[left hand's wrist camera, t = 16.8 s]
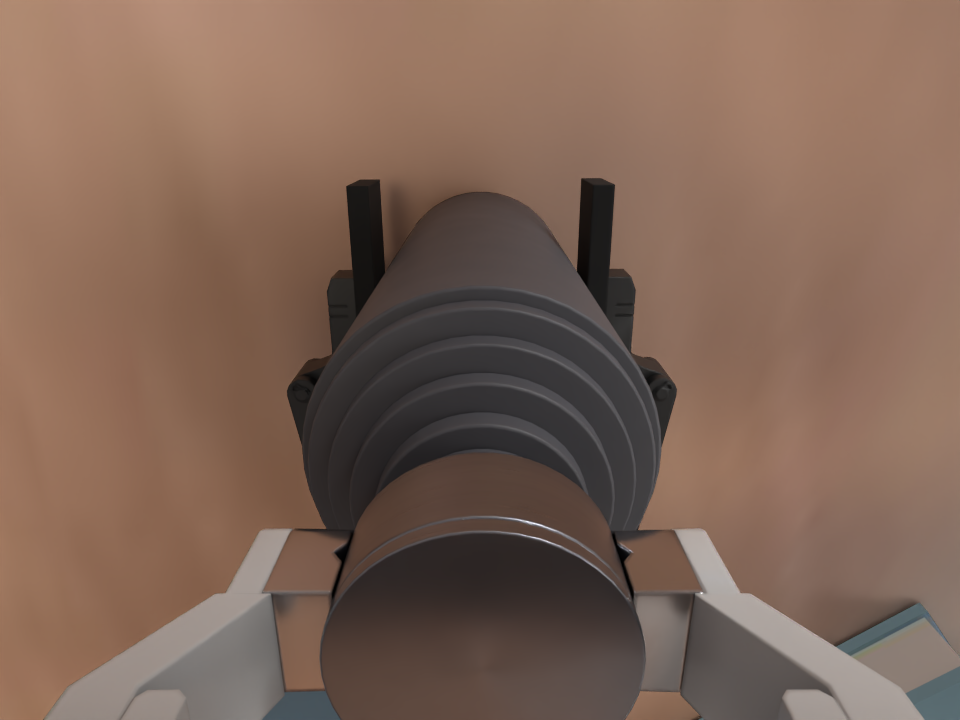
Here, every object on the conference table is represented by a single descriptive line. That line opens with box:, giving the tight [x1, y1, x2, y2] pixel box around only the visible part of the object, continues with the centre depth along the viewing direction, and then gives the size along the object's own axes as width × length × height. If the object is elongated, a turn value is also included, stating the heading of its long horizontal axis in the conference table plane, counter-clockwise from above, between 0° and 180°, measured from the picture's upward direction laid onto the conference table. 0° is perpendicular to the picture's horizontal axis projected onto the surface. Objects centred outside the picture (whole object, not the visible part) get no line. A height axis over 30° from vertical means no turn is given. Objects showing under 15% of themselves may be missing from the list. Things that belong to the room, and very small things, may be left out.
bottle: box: [302, 192, 661, 531], centre depth 20 cm, size 8×8×24 cm
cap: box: [319, 452, 646, 720], centre depth 10 cm, size 4×4×2 cm
